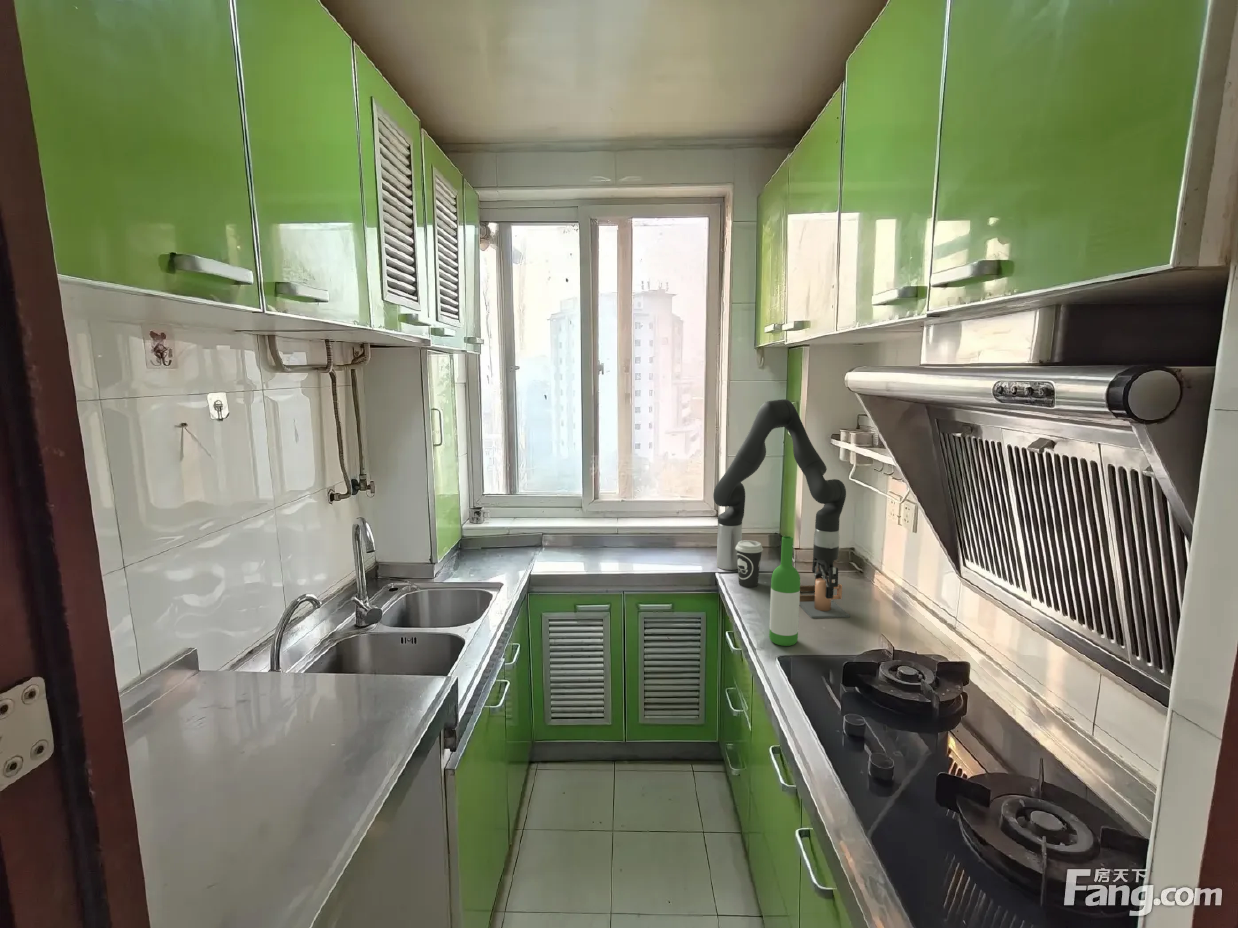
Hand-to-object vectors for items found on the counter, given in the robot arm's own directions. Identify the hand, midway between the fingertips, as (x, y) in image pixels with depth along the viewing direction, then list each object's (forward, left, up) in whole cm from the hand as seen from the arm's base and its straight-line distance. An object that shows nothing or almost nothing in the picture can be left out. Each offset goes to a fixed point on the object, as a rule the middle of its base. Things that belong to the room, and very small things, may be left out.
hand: (823, 593), depth 191 cm
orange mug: (0, +2, -5) cm, 5 cm away
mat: (0, 0, -6) cm, 6 cm away
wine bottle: (+21, -20, -6) cm, 30 cm away
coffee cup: (-25, -17, -6) cm, 31 cm away
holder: (-12, 0, -6) cm, 13 cm away
